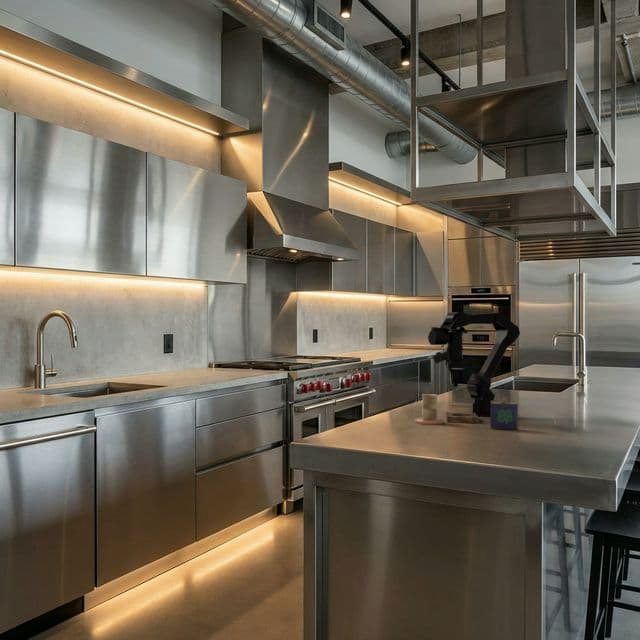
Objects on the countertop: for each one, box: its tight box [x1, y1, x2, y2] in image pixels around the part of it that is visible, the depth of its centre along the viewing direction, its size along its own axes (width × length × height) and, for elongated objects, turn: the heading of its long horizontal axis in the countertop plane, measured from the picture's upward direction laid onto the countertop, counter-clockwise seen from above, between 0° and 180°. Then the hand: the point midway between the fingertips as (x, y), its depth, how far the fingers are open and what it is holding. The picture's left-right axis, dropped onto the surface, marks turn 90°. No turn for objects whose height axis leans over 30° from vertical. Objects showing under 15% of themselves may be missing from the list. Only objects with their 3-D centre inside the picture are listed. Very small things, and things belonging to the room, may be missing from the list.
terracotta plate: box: [414, 417, 444, 426], centre depth 225 cm, size 10×10×1 cm
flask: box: [489, 397, 519, 431], centre depth 213 cm, size 9×3×11 cm, turn 88°
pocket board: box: [445, 411, 479, 424], centre depth 231 cm, size 11×11×2 cm
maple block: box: [421, 393, 438, 421], centre depth 226 cm, size 5×4×9 cm
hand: (454, 385), depth 239 cm, fingers open, 9 cm apart
